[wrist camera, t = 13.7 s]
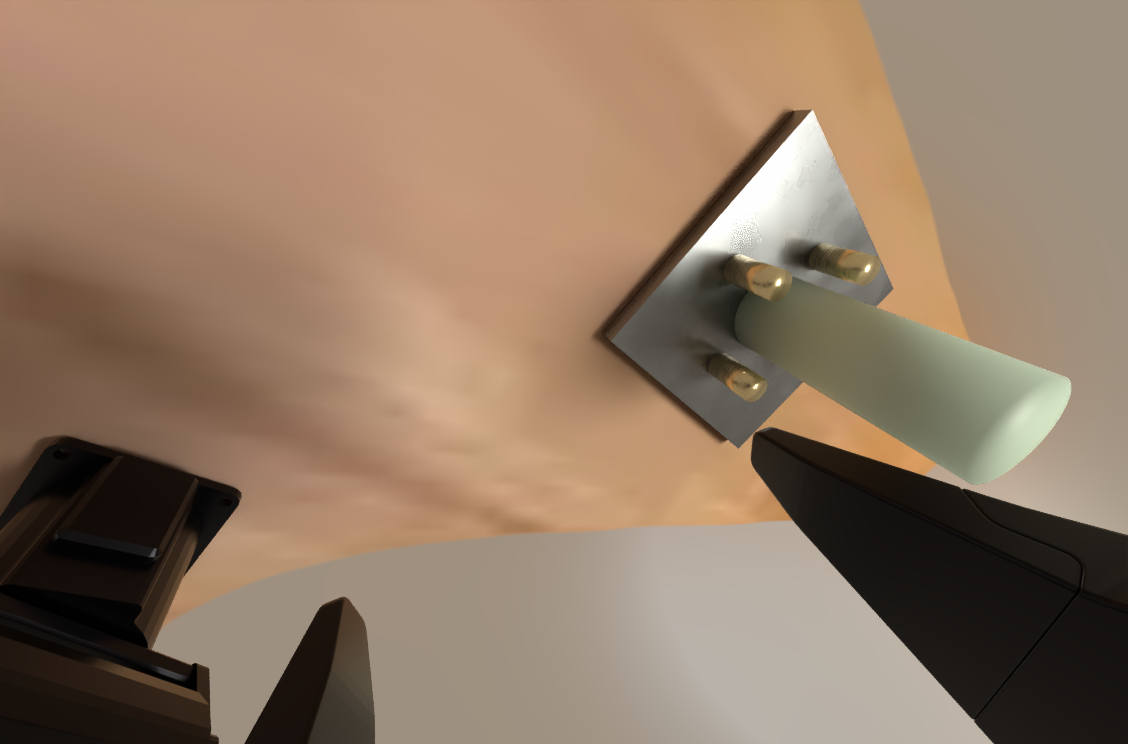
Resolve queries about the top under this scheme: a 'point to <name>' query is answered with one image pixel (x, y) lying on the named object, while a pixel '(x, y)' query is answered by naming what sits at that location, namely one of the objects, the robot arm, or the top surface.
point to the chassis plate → (750, 279)
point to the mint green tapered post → (908, 378)
